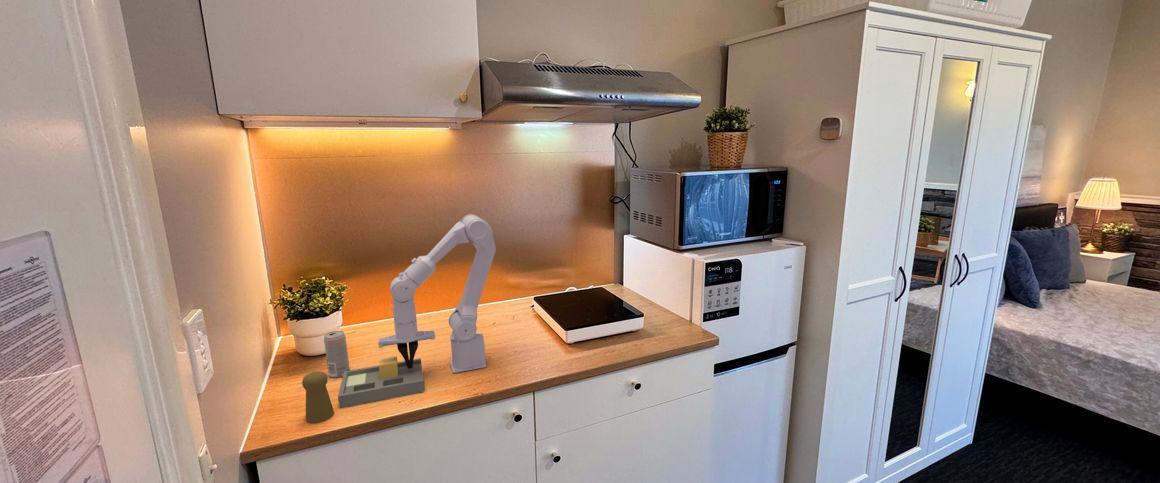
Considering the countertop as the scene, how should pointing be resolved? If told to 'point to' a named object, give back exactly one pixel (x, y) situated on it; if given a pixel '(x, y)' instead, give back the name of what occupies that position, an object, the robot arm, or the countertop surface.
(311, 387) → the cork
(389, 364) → the block
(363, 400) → the trap tray
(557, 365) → the countertop surface
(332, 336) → the energy drink
